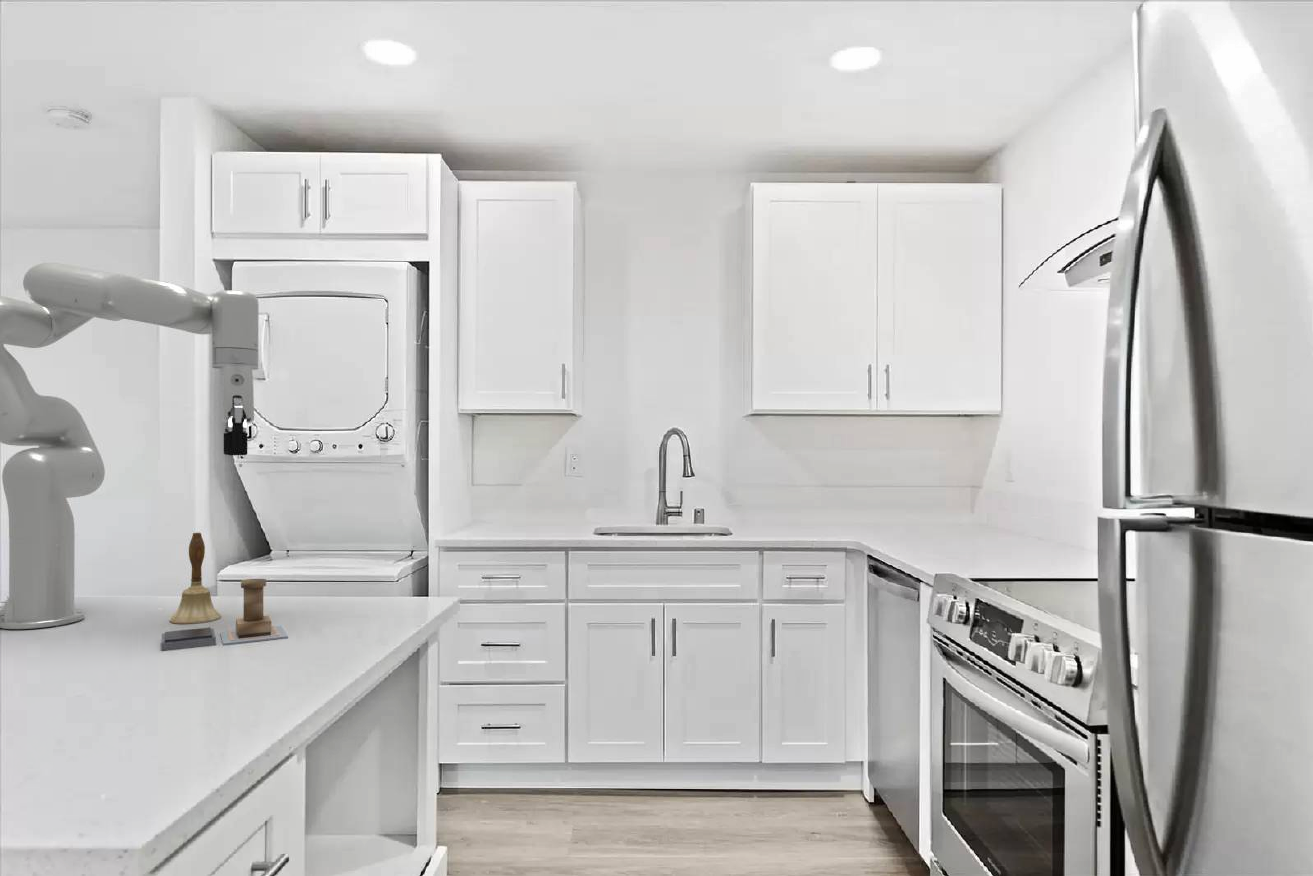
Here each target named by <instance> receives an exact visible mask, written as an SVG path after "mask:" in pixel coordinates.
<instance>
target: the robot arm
mask: <svg viewBox="0 0 1313 876" xmlns="http://www.w3.org/2000/svg"><path fill="white" fill-rule="evenodd" d="M22 287H23V289H24V291H25V293H26V296H27V297H28V298H29V299H30V300H31V301H32V302H28V301H26V300H25V301H24V300H21V299H15V298H11V297H6V296H2V295H0V443H2V444H3V445H8V446H16V447H17V446H18V447H32V448H26V449H22V450H21V451H18V452H16V453H15V454H13V455H11V456H10V458H9V459H8V460H7V461H6V463H5V464H4V465H3V469H2V472H1V473H2V475H1V479H2V487H3V490H4V496H5V500H6V504H7V511H8V512H7V513H8V539H9V540H8V541H9V542H8V548H9V549H8V551H9V552H8V561H9V562H8V570H9V571H8V598H7V599H6V600H5V601H0V616H1V618H0V628H1V629H5V630H29V629H30V630H31V629H32V630H33V629H39V628H40V629H42V628H51V627H56V626H63V625H67V624H71V623H77V622H79V621H81V620H83V619H84V618H85V615H86V614H85V613H86V612H85V611H84V610H83V609H75V540H76V539H75V537H76V536H75V535H76V534H75V519H74V514H73V511H72V508H71V506H70V504H69V501H68V498H69V499H70V498H78V497H79V498H80V497H85V496H87V495H90V494H92V493H95V492H96V491H97V490H98V489H99V488H101V486H102V484H103V482H104V479H105V474H106V473H105V472H106V470H105V464H104V461H103V459H102V456H101V454H100V451H99V449H98V447H97V445H96V443H95V441H94V439H93V437H92V434H91V433H90V431H89V429H88V426H87V424H86V422H85V420H84V418H83V417H82V415H81V413H80V411H79V410H78V409H77V408H76V407H75V405H73V404H72V403H71V402H68V401H67V400H65V399H63V398H60V397H57V396H50V395H40V394H39V393H37V392H36V391H35V389H34V388H33V386H32V384H31V383H30V380H29V379H28V376H27V374H26V371H25V370H24V368H23V367H22V364H20V363H19V361H18V360H17V359H16V358H15V357H14V356H13V355H12V354H11V353H10V352H9V351H8V350H7V348H6V347H5V345H9V346H14V347H23V348H28V349H29V348H31V349H36V348H37V349H39V348H44V347H48V346H50V345H52V344H55V343H56V342H58V341H60V340H61V339H63V338H64V337H66V336H67V335H69V334H70V333H72V332H74V331H76V330H77V329H78V328H80V327H82V326H83V325H85V324H86V323H88V322H89V321H91V320H92V319H94V318H97V319H102V320H108V321H112V322H117V321H118V322H119V321H121V320H129V321H136V322H139V323H146V324H151V325H152V324H153V325H157V326H161V327H165V328H169V329H170V328H171V329H174V330H175V329H176V330H179V331H182V332H183V331H184V332H186V333H191V334H196V335H211V368H212V369H218V370H219V375H218V376H219V377H218V379H219V408H220V418H221V421H222V423H225V424H224V433H223V454H224V455H226V456H246V455H248V432H247V424H250V423H252V422H254V421H255V409H254V408H255V407H254V406H255V404H254V403H255V401H254V375H253V371H254V370H256V371H257V370H259V319H260V318H259V314H260V313H259V310H260V309H259V300H258V298H257V296H256V295H254V293H250V292H249V291H248V292H247V291H242V290H228V289H225V290H219V291H216V292H214V294H213V295H212V294H208V293H204V292H202V291H198V290H195V289H191V288H189V287H185V286H181V285H178V284H174V283H168V282H163V281H160V280H159V281H158V280H153V279H147V278H142V277H136V276H130V275H126V274H120V273H114V272H107V271H105V270H104V271H103V270H98V269H92V268H88V267H81V266H75V265H69V264H65V263H58V262H43V263H39V264H36V265H34V266H32V267H30V268H29V269H28V270H27V272H26V273H25V274H24V277H23V280H22ZM35 446H36V447H35Z"/></svg>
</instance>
